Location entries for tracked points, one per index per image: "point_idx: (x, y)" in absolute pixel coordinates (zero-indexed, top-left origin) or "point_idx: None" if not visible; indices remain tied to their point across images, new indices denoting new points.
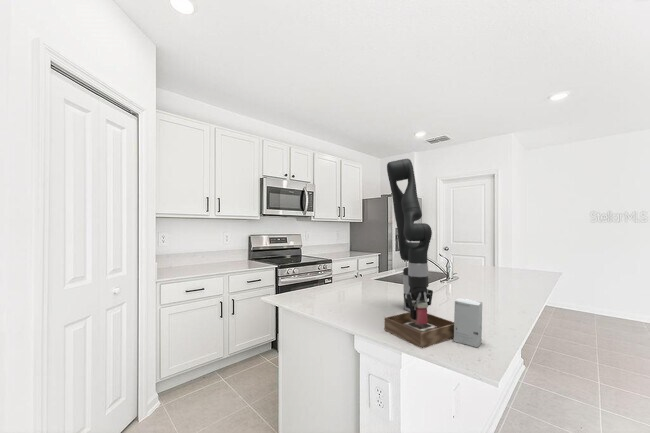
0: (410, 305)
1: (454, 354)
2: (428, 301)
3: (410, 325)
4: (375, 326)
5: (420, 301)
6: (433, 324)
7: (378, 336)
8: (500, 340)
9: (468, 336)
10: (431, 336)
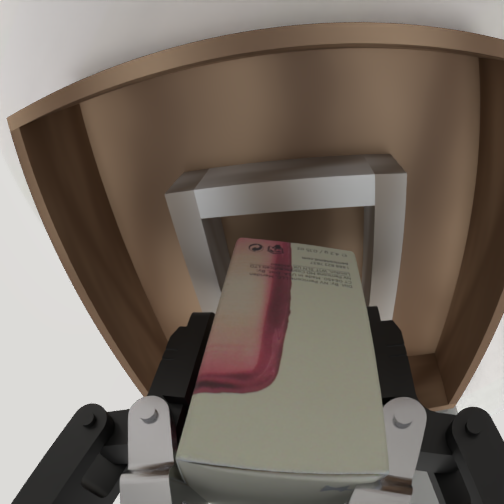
0: (102, 472)
1: None
2: (438, 486)
3: (208, 254)
4: (54, 9)
5: (327, 498)
6: (475, 231)
7: (23, 177)
8: (499, 395)
9: None
10: None
